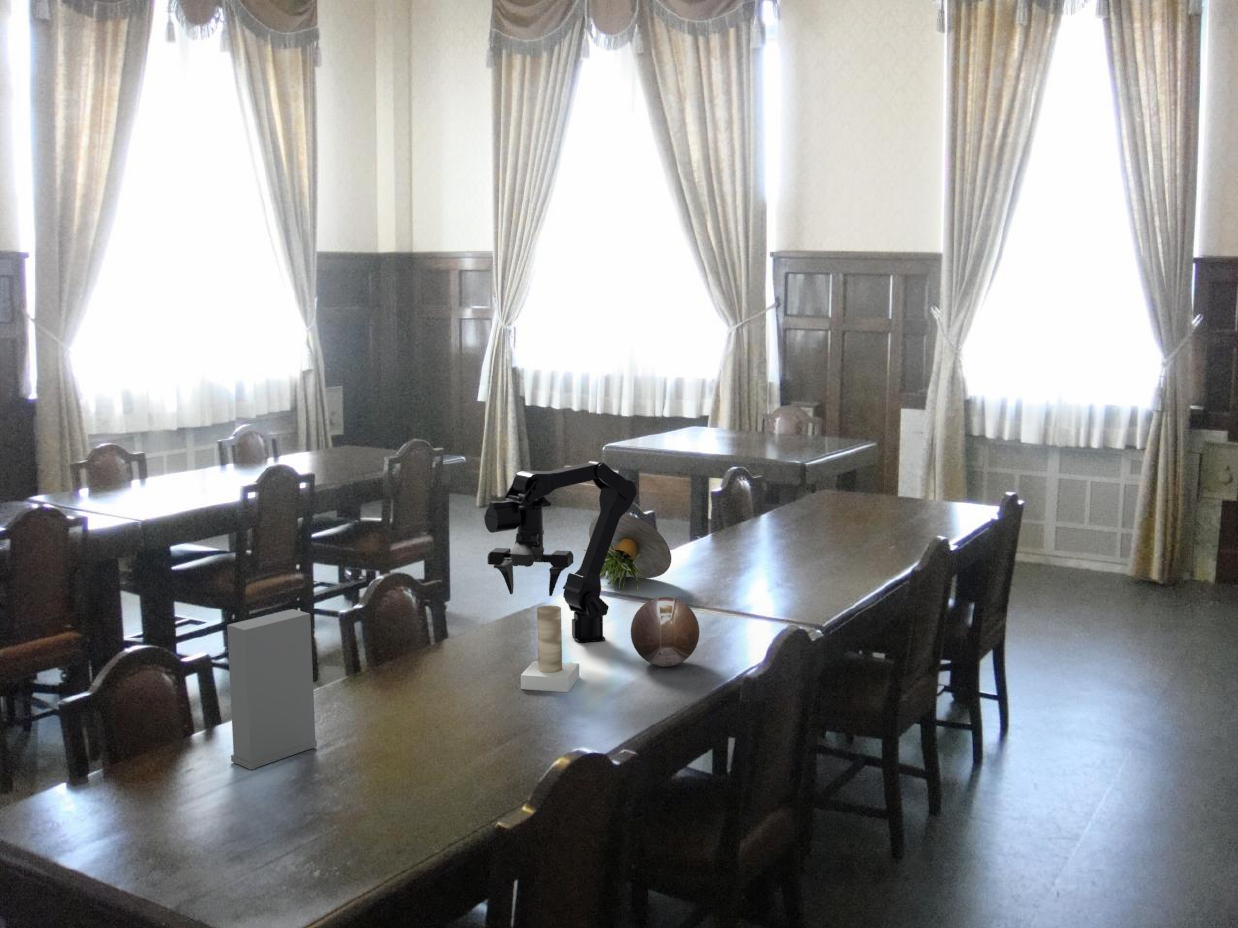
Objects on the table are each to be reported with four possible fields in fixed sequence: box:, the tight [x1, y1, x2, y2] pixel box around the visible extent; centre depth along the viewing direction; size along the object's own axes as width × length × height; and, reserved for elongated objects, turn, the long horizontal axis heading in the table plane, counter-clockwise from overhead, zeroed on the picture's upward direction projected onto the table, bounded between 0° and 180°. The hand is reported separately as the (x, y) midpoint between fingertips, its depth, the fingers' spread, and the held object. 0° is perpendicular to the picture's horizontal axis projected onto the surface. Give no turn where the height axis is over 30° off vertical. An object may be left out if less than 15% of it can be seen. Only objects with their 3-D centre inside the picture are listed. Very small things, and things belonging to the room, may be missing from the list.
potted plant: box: [583, 513, 672, 592], centre depth 342 cm, size 25×18×25 cm
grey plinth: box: [520, 660, 580, 693], centre depth 260 cm, size 10×10×3 cm
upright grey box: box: [226, 608, 318, 771], centre depth 219 cm, size 14×6×25 cm, turn 141°
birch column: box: [536, 604, 563, 673], centre depth 259 cm, size 5×5×13 cm
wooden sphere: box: [630, 596, 700, 668], centre depth 271 cm, size 15×15×15 cm
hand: (531, 594), depth 281 cm, fingers open, 9 cm apart
